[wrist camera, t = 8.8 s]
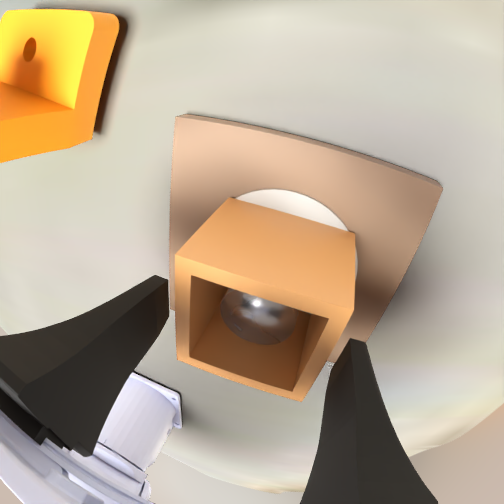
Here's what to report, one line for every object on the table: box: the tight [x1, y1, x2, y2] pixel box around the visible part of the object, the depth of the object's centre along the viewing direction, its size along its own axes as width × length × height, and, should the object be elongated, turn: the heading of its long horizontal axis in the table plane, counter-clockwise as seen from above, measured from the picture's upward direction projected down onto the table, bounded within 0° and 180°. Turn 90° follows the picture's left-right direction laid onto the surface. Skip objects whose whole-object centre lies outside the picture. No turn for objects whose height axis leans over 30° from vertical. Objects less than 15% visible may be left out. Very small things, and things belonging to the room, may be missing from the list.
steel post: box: [220, 288, 299, 345], centre depth 14 cm, size 3×3×5 cm
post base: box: [169, 114, 443, 363], centre depth 15 cm, size 12×12×1 cm
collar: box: [175, 197, 355, 402], centre depth 13 cm, size 6×6×5 cm
